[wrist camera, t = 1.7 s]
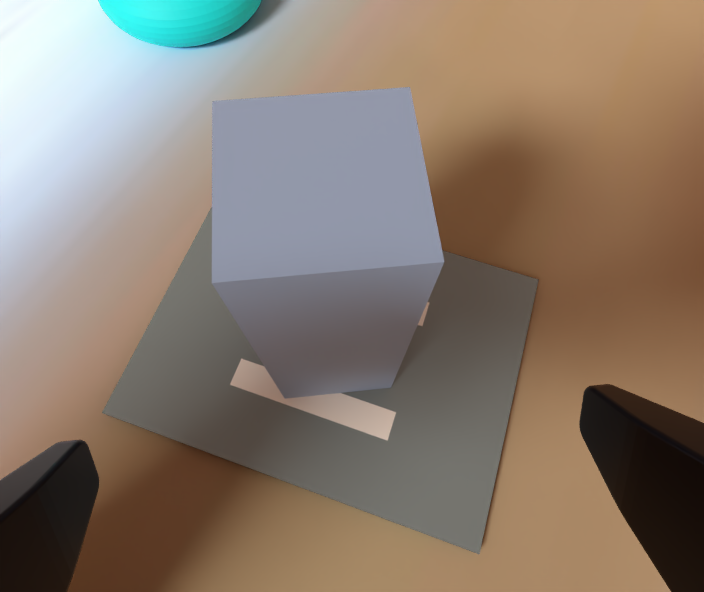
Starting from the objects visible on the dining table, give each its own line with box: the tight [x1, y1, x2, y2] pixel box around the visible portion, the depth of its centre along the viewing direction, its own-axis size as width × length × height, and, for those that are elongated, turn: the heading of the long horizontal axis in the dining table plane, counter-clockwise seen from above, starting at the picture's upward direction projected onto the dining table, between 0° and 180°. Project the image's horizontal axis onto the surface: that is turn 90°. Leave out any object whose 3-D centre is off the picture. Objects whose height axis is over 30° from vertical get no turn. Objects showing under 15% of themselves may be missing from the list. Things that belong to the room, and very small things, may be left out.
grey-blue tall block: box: [212, 87, 444, 399], centre depth 16 cm, size 4×4×12 cm
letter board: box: [102, 207, 538, 554], centre depth 21 cm, size 12×16×1 cm
